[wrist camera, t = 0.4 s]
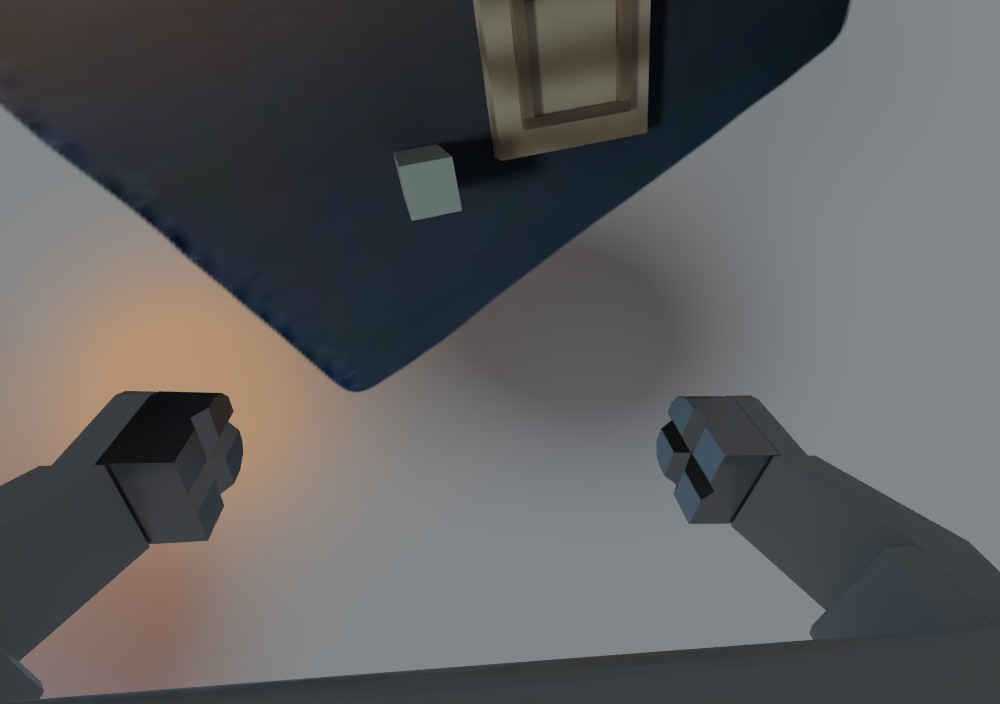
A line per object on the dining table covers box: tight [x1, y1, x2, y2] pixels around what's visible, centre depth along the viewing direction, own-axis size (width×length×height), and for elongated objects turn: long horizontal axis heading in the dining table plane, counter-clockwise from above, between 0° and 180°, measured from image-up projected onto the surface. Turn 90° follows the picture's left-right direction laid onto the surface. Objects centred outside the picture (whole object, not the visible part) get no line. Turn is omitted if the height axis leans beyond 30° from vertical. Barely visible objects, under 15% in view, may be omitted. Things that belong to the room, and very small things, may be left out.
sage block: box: [393, 144, 462, 221], centre depth 44 cm, size 4×4×10 cm
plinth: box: [473, 0, 651, 161], centre depth 44 cm, size 16×16×4 cm
